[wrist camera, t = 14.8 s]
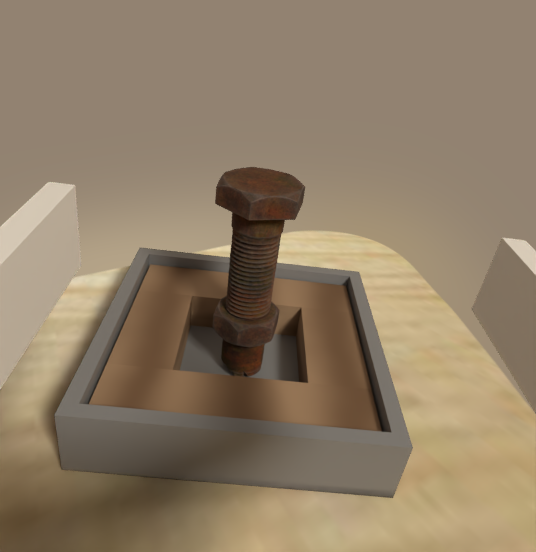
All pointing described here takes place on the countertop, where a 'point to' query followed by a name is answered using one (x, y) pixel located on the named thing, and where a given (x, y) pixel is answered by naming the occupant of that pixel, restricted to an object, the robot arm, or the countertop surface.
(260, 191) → the bolt
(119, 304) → the open box
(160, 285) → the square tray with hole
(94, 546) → the countertop surface
